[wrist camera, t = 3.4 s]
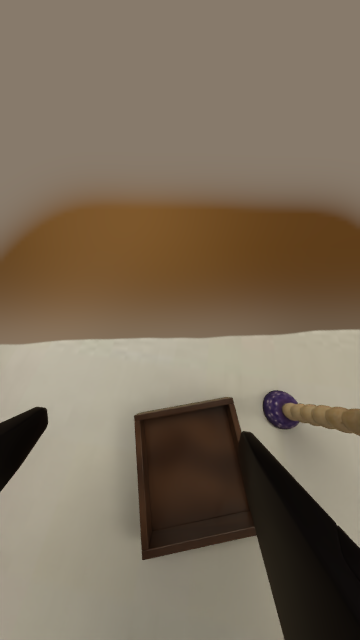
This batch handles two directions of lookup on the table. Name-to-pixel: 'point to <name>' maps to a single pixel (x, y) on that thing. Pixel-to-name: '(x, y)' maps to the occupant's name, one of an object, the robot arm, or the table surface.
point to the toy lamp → (308, 414)
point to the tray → (190, 477)
